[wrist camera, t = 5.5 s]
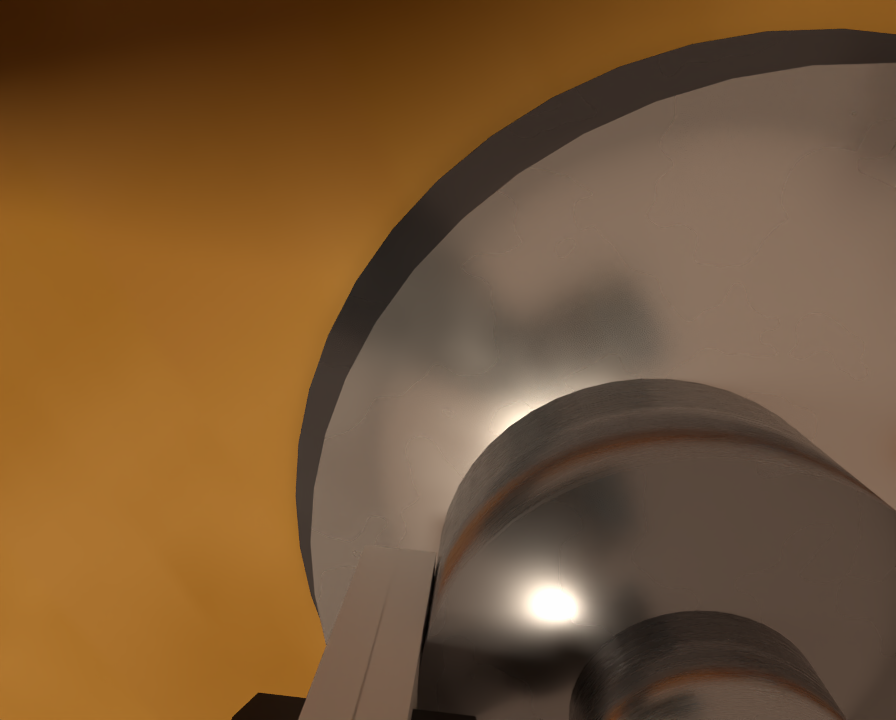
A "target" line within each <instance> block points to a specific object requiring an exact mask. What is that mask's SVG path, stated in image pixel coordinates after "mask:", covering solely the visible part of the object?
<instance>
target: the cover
mask: <svg viewBox="0 0 896 720" xmlns="http://www.w3.org/2000/svg"><path fill="white" fill-rule="evenodd" d="M418 709H419V710H427V711H436V712H444V713H453V714H461V715H470V716H475V717H476V719H477V720H896V510H894V509H893V508H892V507H891V506H889V505H888V504H887V503H886V502H885V501H883V500H882V499H881V498H880V497H878V496H877V495H876V494H875V493H874V492H872V491H871V490H870V489H869V488H867V487H866V486H865V485H864V484H862V483H861V482H860V481H859V480H858V479H856V478H855V477H854V476H853V475H851V474H850V473H849V472H848V471H847V470H845V469H844V468H843V467H842V466H840V465H839V464H838V463H837V462H835V461H834V460H833V459H832V458H831V457H829V456H828V455H827V454H826V453H824V452H823V451H822V450H821V449H820V448H818V447H817V446H816V445H815V444H813V443H812V442H811V441H810V440H808V439H807V438H806V437H805V436H804V435H802V434H801V433H800V432H799V431H797V430H796V429H795V428H794V427H792V426H791V425H790V424H788V423H787V422H786V421H785V420H783V419H782V418H781V417H780V416H778V415H777V414H775V413H773V412H771V411H770V410H768V409H766V408H765V407H763V406H761V405H759V404H758V403H756V402H754V401H752V400H749V399H747V398H745V397H742V396H740V395H737V394H735V393H732V392H730V391H728V390H724V389H720V388H716V387H713V386H709V385H705V384H701V383H696V382H689V381H681V380H674V379H634V380H625V381H615V382H609V383H605V384H601V385H597V386H592V387H588V388H584V389H581V390H578V391H575V392H573V393H570V394H567V395H565V396H562V397H559V398H556V399H554V400H553V401H551V402H549V403H547V404H545V405H543V406H541V407H539V408H537V409H535V410H533V411H531V412H530V413H528V414H527V415H525V416H524V417H523V418H521V419H520V420H518V421H517V422H515V423H514V424H512V425H511V426H510V427H508V428H507V429H506V430H505V431H504V432H503V433H502V434H500V435H499V436H498V437H497V438H496V439H495V440H494V441H493V442H492V443H490V444H489V445H488V446H487V448H486V449H485V450H484V451H483V452H482V454H481V455H480V456H479V457H478V458H477V459H476V461H475V462H474V463H473V464H472V465H471V467H470V469H469V470H468V472H467V473H466V475H465V476H464V478H463V480H462V481H461V483H460V484H459V486H458V488H457V490H456V493H455V495H454V497H453V499H452V501H451V504H450V506H449V508H448V511H447V515H446V518H445V522H444V525H443V529H442V533H441V540H440V546H439V552H438V558H437V564H436V571H435V577H434V583H433V589H432V596H431V602H430V608H429V614H428V620H427V627H426V633H425V639H424V645H423V651H422V658H421V665H420V672H419V680H418Z"/></svg>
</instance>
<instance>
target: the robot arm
mask: <svg viewBox="0 0 896 720" xmlns="http://www.w3.org/2000/svg"><path fill="white" fill-rule="evenodd" d="M435 563H436V552H428V551H419V550H409V549H400V548H390V547H380V546H371V545H365V546H364V549H363V551H362V554H361V557H360V559H359V562H358V564H357V567H356V570H355V572H354V575H353V578H352V580H351V583H350V585H349V588H348V591H347V593H346V596H345V598H344V601H343V604H342V606H341V609H340V612H339V614H338V617H337V619H336V622H335V625H334V627H333V630H332V632H331V635H330V638H329V640H328V643H327V646H326V648H325V651H324V653H323V656H322V659H321V661H320V664H319V667H318V669H317V672H316V674H315V677H314V680H313V682H312V685H311V687H310V690H309V693H308V695H307V698H299V697H291V696H283V695H274V694H266V693H258V694H256V695H255V696H254V697H253V698H252V699H251V700H250V701H249V702H248V703H247V704H246V705H245V706H244V707H243V708H242V709H241V710H239V711H238V712H237V713H236V714H235V715H234V716H233V717H232V719H231V720H477V719H476V717H475V716H470V715H461V714H453V713H444V712H436V711H427V710H419V709H418V680H419V672H420V665H421V658H422V651H423V645H424V639H425V633H426V627H427V620H428V614H429V608H430V602H431V596H432V589H433V583H434V577H435Z"/></svg>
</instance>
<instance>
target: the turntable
mask: <svg viewBox="0 0 896 720" xmlns="http://www.w3.org/2000/svg"><path fill="white" fill-rule="evenodd" d="M634 379H674V380H681V381H689V382H696V383H701V384H705V385H709V386H713V387H716V388H720V389H724V390H728V391H730V392H732V393H735V394H737V395H740V396H742V397H745V398H747V399H749V400H752V401H754V402H756V403H758V404H759V405H761V406H763V407H765V408H766V409H768V410H770V411H771V412H773V413H775V414H777V415H778V416H780V417H781V418H782V419H783V420H785V421H786V422H787V423H788V424H790V425H791V426H792V427H794V428H795V429H796V430H797V431H799V432H800V433H801V434H802V435H804V436H805V437H806V438H807V439H808V440H810V441H811V442H812V443H813V444H815V445H816V446H817V447H818V448H820V449H821V450H822V451H823V452H824V453H826V454H827V455H828V456H829V457H831V458H832V459H833V460H834V461H835V462H837V463H838V464H839V465H840V466H842V467H843V468H844V469H845V470H847V471H848V472H849V473H850V474H851V475H853V476H854V477H855V478H856V479H858V480H859V481H860V482H861V483H862V484H864V485H865V486H866V487H867V488H869V489H870V490H871V491H872V492H874V493H875V494H876V495H877V496H878V497H880V498H881V499H882V500H883V501H885V502H886V503H887V504H888V505H889V506H891V507H892V508H893V509H894V510H896V63H877V64H843V65H812V66H806V67H800V68H794V69H788V70H782V71H776V72H770V73H763V74H757V75H751V76H745V77H739V78H733V79H729V80H726V81H723V82H719V83H716V84H713V85H710V86H706V87H703V88H700V89H696V90H693V91H690V92H686V93H683V94H680V95H676V96H673V97H670V98H666V99H663V100H660V101H656V102H654V103H652V104H649V105H647V106H645V107H643V108H640V109H638V110H636V111H634V112H632V113H629V114H627V115H625V116H623V117H620V118H618V119H616V120H614V121H611V122H609V123H607V124H605V125H602V126H600V127H598V128H596V129H593V130H591V131H589V132H587V133H585V134H583V135H581V136H579V137H578V138H576V139H575V140H573V141H571V142H570V143H568V144H566V145H565V146H563V147H561V148H560V149H558V150H557V151H555V152H553V153H552V154H550V155H548V156H547V157H545V158H543V159H542V160H540V161H539V162H537V163H535V164H534V165H532V166H530V167H529V168H527V169H525V170H524V171H522V172H521V173H519V174H517V175H516V176H515V177H513V178H512V179H511V180H510V181H508V182H507V183H506V184H505V185H503V186H502V187H501V188H500V189H498V190H497V191H496V192H495V193H493V194H492V195H491V196H490V197H488V198H487V199H486V200H485V201H484V202H482V203H481V204H480V205H479V206H477V207H476V208H475V209H474V210H472V211H471V212H470V213H469V214H467V215H466V216H465V217H464V218H463V219H462V220H461V221H460V222H459V223H458V224H457V225H456V226H455V227H454V228H453V229H452V230H451V231H450V232H449V233H448V235H447V236H446V237H445V238H444V239H443V240H442V241H441V242H440V243H439V244H438V245H437V246H436V247H435V248H434V249H433V250H432V251H431V252H430V253H429V254H428V255H427V257H426V258H425V259H424V260H423V261H422V262H421V263H420V264H419V265H418V266H417V267H416V268H415V269H414V270H413V272H412V273H411V275H410V276H409V277H408V279H407V280H406V281H405V283H404V284H403V286H402V287H401V288H400V290H399V291H398V292H397V294H396V295H395V297H394V298H393V299H392V301H391V302H390V303H389V305H388V306H387V308H386V309H385V310H384V312H383V313H382V314H381V316H380V317H379V319H378V320H377V321H376V323H375V325H374V326H373V328H372V330H371V332H370V334H369V336H368V338H367V340H366V341H365V343H364V345H363V347H362V349H361V351H360V353H359V354H358V356H357V358H356V360H355V362H354V364H353V366H352V368H351V369H350V371H349V373H348V375H347V377H346V379H345V382H344V385H343V387H342V390H341V393H340V396H339V398H338V401H337V404H336V406H335V409H334V412H333V415H332V417H331V420H330V423H329V426H328V428H327V431H326V434H325V439H324V443H323V448H322V453H321V458H320V462H319V467H318V472H317V476H316V481H315V486H314V495H313V511H312V527H311V542H310V543H311V555H312V568H313V580H314V592H315V598H316V602H317V607H318V611H319V616H320V620H321V624H322V629H323V633H324V637H325V642H326V645H327V643H328V640H329V638H330V635H331V632H332V630H333V627H334V625H335V622H336V619H337V617H338V614H339V612H340V609H341V606H342V604H343V601H344V598H345V596H346V593H347V591H348V588H349V585H350V583H351V580H352V578H353V575H354V572H355V570H356V567H357V564H358V562H359V559H360V557H361V554H362V551H363V549H364V546H365V545H371V546H380V547H390V548H400V549H409V550H419V551H428V552H436V563H435V571H436V564H437V558H438V552H439V546H440V540H441V533H442V529H443V525H444V522H445V518H446V515H447V511H448V508H449V506H450V504H451V501H452V499H453V497H454V495H455V493H456V490H457V488H458V486H459V484H460V483H461V481H462V480H463V478H464V476H465V475H466V473H467V472H468V470H469V469H470V467H471V465H472V464H473V463H474V462H475V461H476V459H477V458H478V457H479V456H480V455H481V454H482V452H483V451H484V450H485V449H486V448H487V446H488V445H489V444H490V443H492V442H493V441H494V440H495V439H496V438H497V437H498V436H499V435H500V434H502V433H503V432H504V431H505V430H506V429H507V428H508V427H510V426H511V425H512V424H514V423H515V422H517V421H518V420H520V419H521V418H523V417H524V416H525V415H527V414H528V413H530V412H531V411H533V410H535V409H537V408H539V407H541V406H543V405H545V404H547V403H549V402H551V401H553V400H554V399H556V398H559V397H562V396H565V395H567V394H570V393H573V392H575V391H578V390H581V389H584V388H588V387H592V386H597V385H601V384H605V383H609V382H615V381H625V380H634Z"/></svg>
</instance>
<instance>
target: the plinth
mask: <svg viewBox="0 0 896 720" xmlns="http://www.w3.org/2000/svg"><path fill="white" fill-rule="evenodd" d="M877 63H896V34H887V33H878V32H869V31H859V30H850V29H825V30H795V31H767V32H761V33H755V34H749V35H743V36H737V37H732V38H726V39H720V40H714V41H708V42H702V43H696V44H691V45H688V46H685V47H681V48H678V49H675V50H672V51H669V52H665V53H662V54H659V55H656V56H653V57H649V58H646V59H643V60H640V61H636V62H633V63H630V64H627V65H624V66H620V67H618V68H616V69H614V70H611V71H609V72H607V73H605V74H603V75H601V76H598V77H596V78H594V79H592V80H590V81H588V82H585V83H583V84H581V85H579V86H577V87H575V88H572V89H570V90H568V91H566V92H564V93H562V94H559V95H557V96H555V97H553V98H551V99H549V100H548V101H546V102H545V103H543V104H541V105H540V106H538V107H537V108H535V109H534V110H532V111H530V112H529V113H527V114H526V115H524V116H522V117H521V118H519V119H518V120H516V121H515V122H513V123H511V124H510V125H508V126H507V127H505V128H503V129H502V130H500V131H499V132H497V133H495V134H494V135H492V136H491V137H490V138H488V139H487V140H486V141H485V142H484V143H482V144H481V145H480V146H479V147H478V148H476V149H475V150H474V151H473V152H472V153H470V154H469V155H468V156H467V157H465V158H464V159H463V160H462V161H461V162H459V163H458V164H457V165H456V166H455V167H453V168H452V169H451V170H450V171H449V172H447V173H446V174H445V175H444V176H443V177H441V178H440V179H439V180H438V181H437V182H436V183H435V184H434V185H433V186H432V187H431V188H430V189H429V191H428V192H427V193H426V194H425V195H424V196H423V197H422V198H421V199H420V200H419V201H418V202H417V203H416V205H415V206H414V207H413V208H412V209H411V210H410V211H409V212H408V213H407V214H406V215H405V216H404V218H403V219H402V220H401V221H400V222H399V223H398V224H397V225H396V226H395V227H394V228H393V229H392V231H391V232H390V234H389V235H388V237H387V238H386V239H385V241H384V242H383V244H382V245H381V247H380V248H379V249H378V251H377V252H376V254H375V255H374V257H373V258H372V259H371V261H370V262H369V264H368V265H367V267H366V268H365V269H364V271H363V272H362V274H361V275H360V276H359V278H358V279H357V281H356V283H355V284H354V286H353V288H352V290H351V292H350V294H349V296H348V298H347V300H346V302H345V304H344V306H343V308H342V310H341V312H340V314H339V315H338V317H337V319H336V321H335V323H334V325H333V327H332V329H331V331H330V333H329V335H328V338H327V341H326V343H325V346H324V349H323V352H322V355H321V358H320V361H319V363H318V366H317V369H316V372H315V375H314V378H313V380H312V383H311V386H310V389H309V394H308V399H307V404H306V409H305V414H304V419H303V424H302V429H301V434H300V439H299V445H298V463H297V481H296V506H297V517H298V529H299V541H300V549H301V553H302V558H303V562H304V566H305V571H306V575H307V579H308V584H309V588H310V592H311V596H312V599H313V601H314V604H315V607H316V609H317V612H318V615H319V611H318V607H317V602H316V598H315V592H314V580H313V568H312V555H311V543H310V542H311V527H312V511H313V495H314V486H315V481H316V476H317V472H318V467H319V462H320V458H321V453H322V448H323V443H324V439H325V434H326V431H327V428H328V426H329V423H330V420H331V417H332V415H333V412H334V409H335V406H336V404H337V401H338V398H339V396H340V393H341V390H342V387H343V385H344V382H345V379H346V377H347V375H348V373H349V371H350V369H351V368H352V366H353V364H354V362H355V360H356V358H357V356H358V354H359V353H360V351H361V349H362V347H363V345H364V343H365V341H366V340H367V338H368V336H369V334H370V332H371V330H372V328H373V326H374V325H375V323H376V321H377V320H378V319H379V317H380V316H381V314H382V313H383V312H384V310H385V309H386V308H387V306H388V305H389V303H390V302H391V301H392V299H393V298H394V297H395V295H396V294H397V292H398V291H399V290H400V288H401V287H402V286H403V284H404V283H405V281H406V280H407V279H408V277H409V276H410V275H411V273H412V272H413V270H414V269H415V268H416V267H417V266H418V265H419V264H420V263H421V262H422V261H423V260H424V259H425V258H426V257H427V255H428V254H429V253H430V252H431V251H432V250H433V249H434V248H435V247H436V246H437V245H438V244H439V243H440V242H441V241H442V240H443V239H444V238H445V237H446V236H447V235H448V233H449V232H450V231H451V230H452V229H453V228H454V227H455V226H456V225H457V224H458V223H459V222H460V221H461V220H462V219H463V218H464V217H465V216H466V215H467V214H469V213H470V212H471V211H472V210H474V209H475V208H476V207H477V206H479V205H480V204H481V203H482V202H484V201H485V200H486V199H487V198H488V197H490V196H491V195H492V194H493V193H495V192H496V191H497V190H498V189H500V188H501V187H502V186H503V185H505V184H506V183H507V182H508V181H510V180H511V179H512V178H513V177H515V176H516V175H517V174H519V173H521V172H522V171H524V170H525V169H527V168H529V167H530V166H532V165H534V164H535V163H537V162H539V161H540V160H542V159H543V158H545V157H547V156H548V155H550V154H552V153H553V152H555V151H557V150H558V149H560V148H561V147H563V146H565V145H566V144H568V143H570V142H571V141H573V140H575V139H576V138H578V137H579V136H581V135H583V134H585V133H587V132H589V131H591V130H593V129H596V128H598V127H600V126H602V125H605V124H607V123H609V122H611V121H614V120H616V119H618V118H620V117H623V116H625V115H627V114H629V113H632V112H634V111H636V110H638V109H640V108H643V107H645V106H647V105H649V104H652V103H654V102H656V101H660V100H663V99H666V98H670V97H673V96H676V95H680V94H683V93H686V92H690V91H693V90H696V89H700V88H703V87H706V86H710V85H713V84H716V83H719V82H723V81H726V80H729V79H733V78H739V77H745V76H751V75H757V74H763V73H770V72H776V71H782V70H788V69H794V68H800V67H806V66H812V65H843V64H877ZM319 617H320V616H319Z"/></svg>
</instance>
